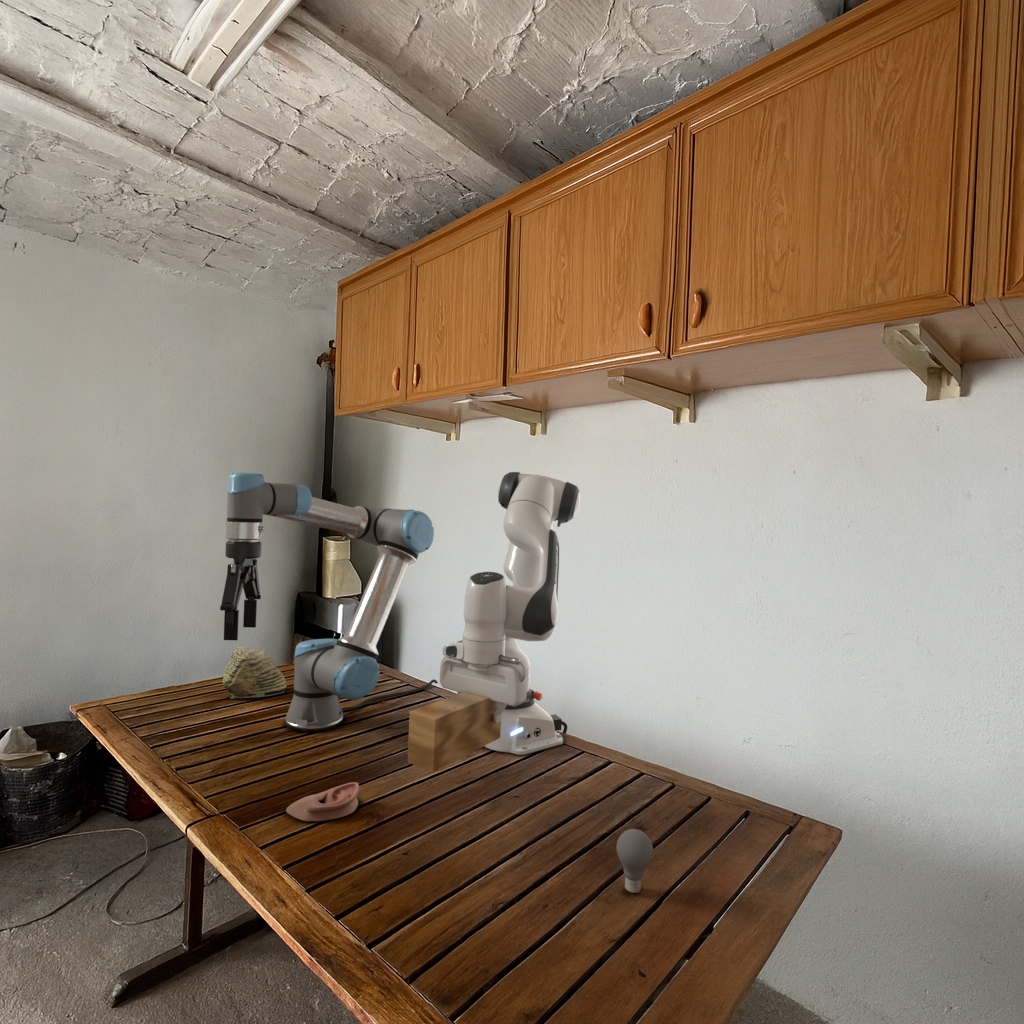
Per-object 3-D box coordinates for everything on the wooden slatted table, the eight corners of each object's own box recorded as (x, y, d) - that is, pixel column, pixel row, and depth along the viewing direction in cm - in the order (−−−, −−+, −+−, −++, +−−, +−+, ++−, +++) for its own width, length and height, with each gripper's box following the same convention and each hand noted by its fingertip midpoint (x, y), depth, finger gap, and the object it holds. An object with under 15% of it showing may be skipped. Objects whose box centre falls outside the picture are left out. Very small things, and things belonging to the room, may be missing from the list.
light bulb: (610, 879, 108) (613, 822, 108) (644, 879, 109) (647, 822, 109) (619, 902, 102) (622, 840, 102) (655, 901, 103) (658, 840, 103)
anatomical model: (278, 797, 124) (308, 772, 135) (277, 817, 124) (307, 791, 136) (340, 806, 122) (366, 781, 133) (339, 827, 122) (365, 799, 133)
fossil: (218, 695, 195) (220, 647, 195) (278, 685, 208) (279, 640, 207) (228, 703, 189) (230, 653, 188) (289, 692, 201) (290, 645, 201)
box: (433, 771, 115) (435, 719, 114) (407, 762, 118) (409, 711, 118) (500, 737, 132) (502, 692, 132) (476, 730, 136) (478, 686, 136)
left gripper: (244, 545, 132) (240, 646, 133) (275, 537, 157) (272, 622, 157) (206, 543, 131) (202, 645, 132) (243, 536, 156) (240, 622, 156)
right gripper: (534, 657, 128) (531, 725, 128) (455, 641, 139) (452, 703, 140) (517, 663, 123) (513, 733, 123) (436, 645, 134) (433, 710, 135)
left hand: (240, 633), depth 144 cm, fingers open, 13 cm apart
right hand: (480, 717), depth 132 cm, fingers closed on box, 6 cm apart
